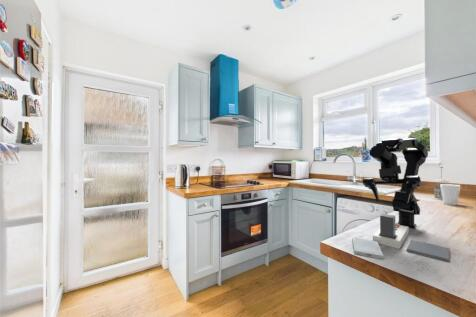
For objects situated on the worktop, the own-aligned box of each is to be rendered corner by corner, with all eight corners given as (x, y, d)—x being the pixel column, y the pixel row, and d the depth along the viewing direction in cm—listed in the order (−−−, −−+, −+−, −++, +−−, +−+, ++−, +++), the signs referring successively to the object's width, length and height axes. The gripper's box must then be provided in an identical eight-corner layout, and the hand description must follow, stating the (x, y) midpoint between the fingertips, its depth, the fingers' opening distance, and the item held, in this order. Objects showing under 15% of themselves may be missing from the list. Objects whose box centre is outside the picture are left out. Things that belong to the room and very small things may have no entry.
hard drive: (352, 237, 78) (354, 250, 67) (377, 241, 74) (384, 255, 63) (352, 241, 78) (354, 255, 67) (377, 245, 74) (384, 260, 63)
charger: (382, 239, 79) (382, 213, 79) (395, 242, 76) (395, 215, 76) (380, 242, 76) (380, 215, 76) (393, 245, 73) (393, 217, 73)
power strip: (385, 227, 91) (385, 221, 91) (408, 232, 85) (408, 225, 86) (372, 241, 76) (372, 233, 76) (399, 248, 70) (399, 239, 70)
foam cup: (462, 206, 131) (462, 186, 131) (443, 204, 136) (443, 185, 136) (457, 203, 139) (456, 184, 139) (438, 201, 144) (438, 183, 144)
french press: (437, 200, 150) (437, 166, 150) (428, 197, 161) (428, 166, 161) (454, 201, 147) (454, 166, 147) (444, 198, 158) (443, 166, 158)
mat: (411, 241, 76) (411, 239, 76) (449, 250, 69) (449, 248, 69) (406, 251, 69) (406, 248, 69) (449, 261, 61) (449, 259, 61)
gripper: (358, 161, 87) (359, 196, 81) (416, 155, 74) (421, 197, 68) (365, 170, 94) (366, 203, 88) (419, 166, 81) (424, 205, 75)
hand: (391, 202), depth 80 cm, fingers open, 9 cm apart
